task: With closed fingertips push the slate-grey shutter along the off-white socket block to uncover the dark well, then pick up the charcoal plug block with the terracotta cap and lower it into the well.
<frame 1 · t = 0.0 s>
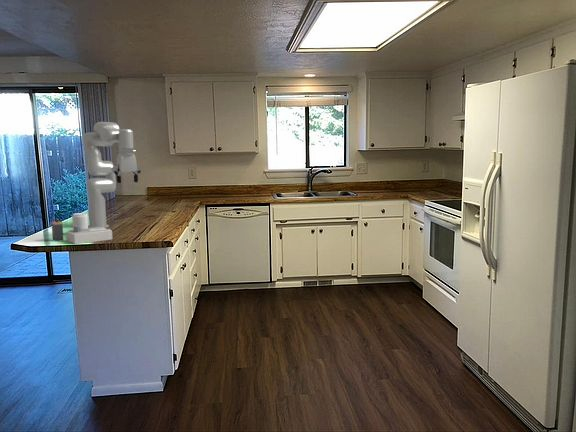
hand: (127, 182, 255), 31 cm above the worktop, fingers open, 9 cm apart
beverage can: (80, 234, 267), on the worktop
socket block: (89, 240, 249), on the worktop
plug: (58, 240, 248), on the worktop
shutter: (81, 228, 246), point 7 cm above the worktop, slide at 0.0 cm
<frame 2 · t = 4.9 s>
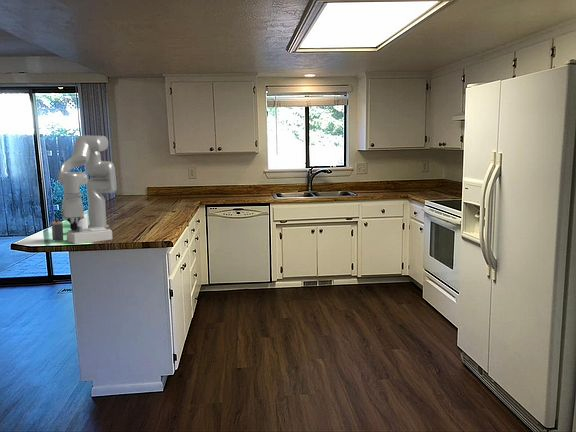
hand: (74, 230, 243), 6 cm above the worktop, fingers closed
shutter: (83, 228, 246), point 7 cm above the worktop, slide at 1.0 cm, touching gripper
everything else where it was.
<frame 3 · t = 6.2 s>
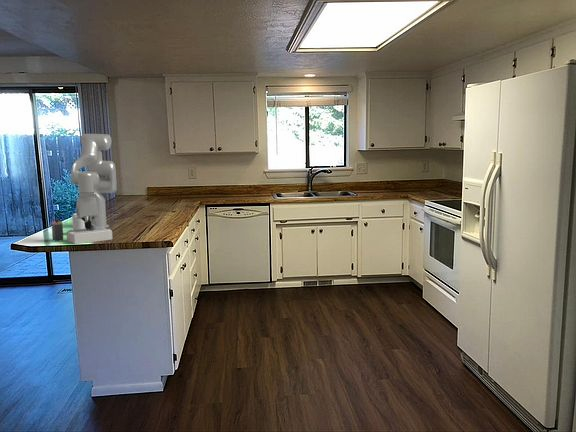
hand: (88, 228, 248), 6 cm above the worktop, fingers closed
shutter: (97, 227, 252), point 7 cm above the worktop, slide at 8.4 cm, touching gripper
everything else where it was.
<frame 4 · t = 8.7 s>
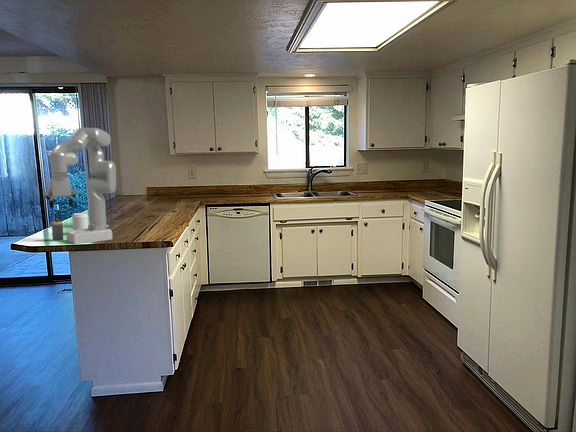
hand: (61, 207, 246), 18 cm above the worktop, fingers open, 9 cm apart
shutter: (97, 227, 252), point 7 cm above the worktop, slide at 8.5 cm
everything else where it was.
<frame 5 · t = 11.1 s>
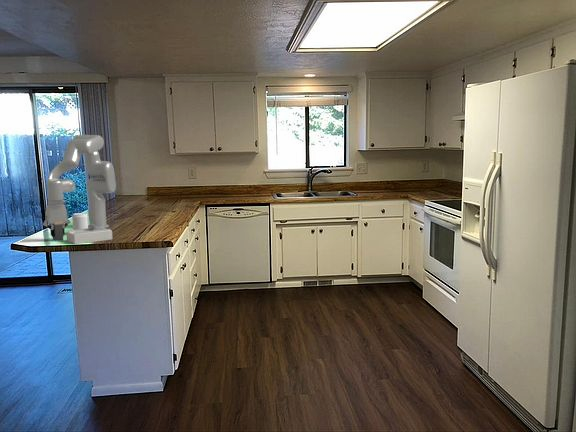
hand: (57, 235, 248), 2 cm above the worktop, fingers closed on plug, 4 cm apart
plug: (58, 240, 248), on the worktop, touching gripper
everything else where it was.
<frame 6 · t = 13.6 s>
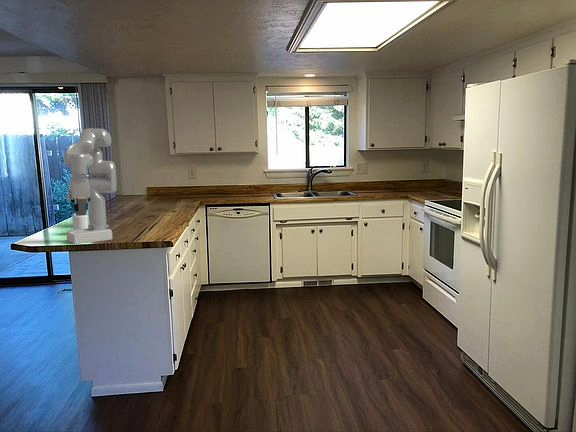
hand: (80, 210, 244), 17 cm above the worktop, fingers closed on plug, 4 cm apart
plug: (81, 215, 245), point 14 cm above the worktop, touching gripper
everything else where it was.
when the fingers open (6 cm above the worktop, at t = 16.2 s): plug stays where it is, resting on socket block.
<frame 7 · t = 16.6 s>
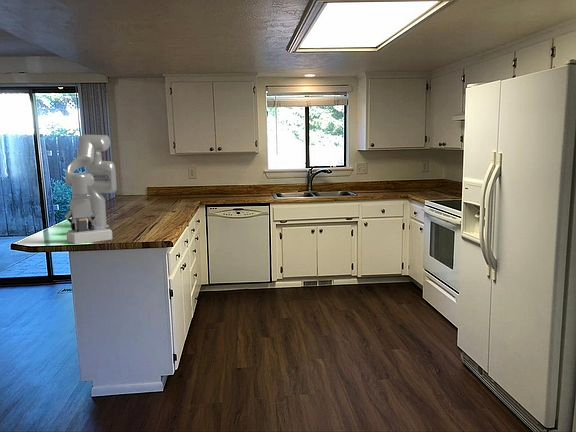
hand: (81, 229, 246), 6 cm above the worktop, fingers open, 7 cm apart
plug: (82, 236, 246), point 2 cm above the worktop, touching socket block
shutter: (97, 227, 252), point 7 cm above the worktop, slide at 8.6 cm, touching gripper
everything else where it was.
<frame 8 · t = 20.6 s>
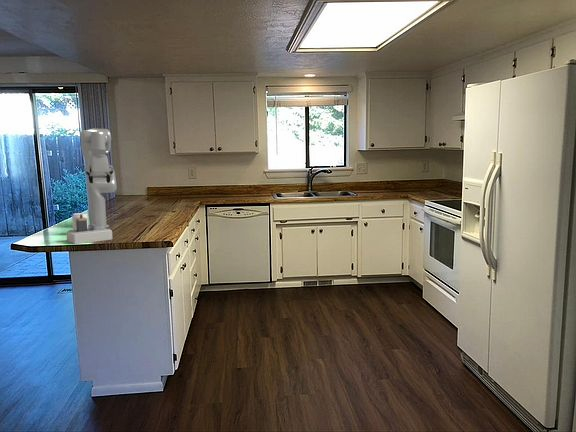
hand: (99, 182, 263), 30 cm above the worktop, fingers open, 9 cm apart
shutter: (97, 227, 252), point 7 cm above the worktop, slide at 8.5 cm
everything else where it was.
at the end: shutter slide at 8.5 cm; plug 0.0 cm from the target spot on the socket block, point 2.5 cm above the socket block's base; plug tilted 0° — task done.
